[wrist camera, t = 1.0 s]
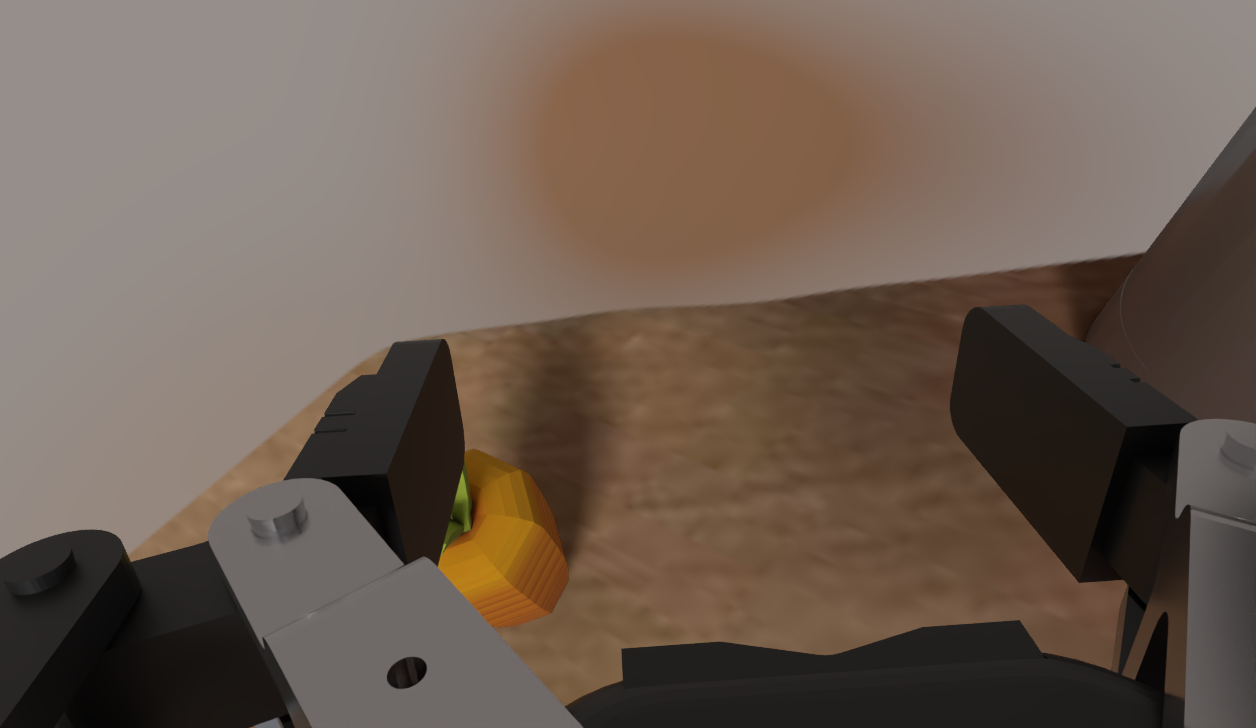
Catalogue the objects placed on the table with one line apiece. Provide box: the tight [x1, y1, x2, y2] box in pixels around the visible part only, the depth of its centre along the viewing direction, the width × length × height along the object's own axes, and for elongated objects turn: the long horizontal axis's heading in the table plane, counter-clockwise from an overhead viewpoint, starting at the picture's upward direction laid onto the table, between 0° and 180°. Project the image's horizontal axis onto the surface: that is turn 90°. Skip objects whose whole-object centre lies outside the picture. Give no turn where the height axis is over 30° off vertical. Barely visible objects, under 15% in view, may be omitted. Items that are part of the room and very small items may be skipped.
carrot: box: [438, 449, 569, 627], centre depth 25 cm, size 5×5×15 cm
